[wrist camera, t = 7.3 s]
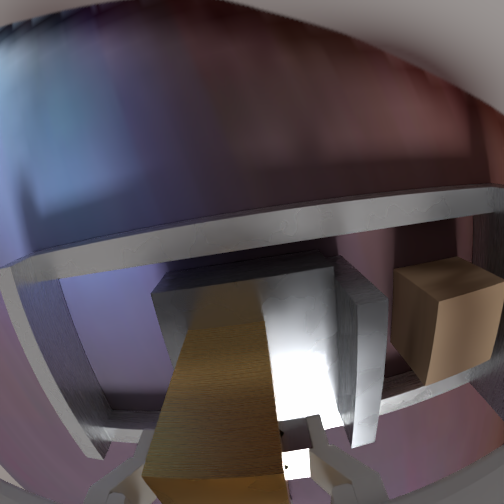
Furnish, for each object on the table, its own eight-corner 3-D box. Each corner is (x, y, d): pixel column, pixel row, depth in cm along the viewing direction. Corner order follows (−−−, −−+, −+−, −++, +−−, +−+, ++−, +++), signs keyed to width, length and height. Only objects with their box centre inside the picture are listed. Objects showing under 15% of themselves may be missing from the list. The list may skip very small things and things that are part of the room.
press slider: (339, 246, 16) (474, 362, 5) (344, 381, 18) (404, 522, 7) (166, 272, 16) (63, 419, 5) (203, 401, 18) (181, 552, 7)
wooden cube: (456, 256, 16) (506, 280, 12) (449, 324, 18) (490, 359, 13) (393, 268, 16) (438, 301, 12) (389, 341, 18) (424, 386, 13)
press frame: (491, 183, 15) (609, 205, 5) (473, 360, 19) (543, 432, 9) (33, 251, 16) (-83, 312, 6) (103, 422, 19) (59, 518, 9)
